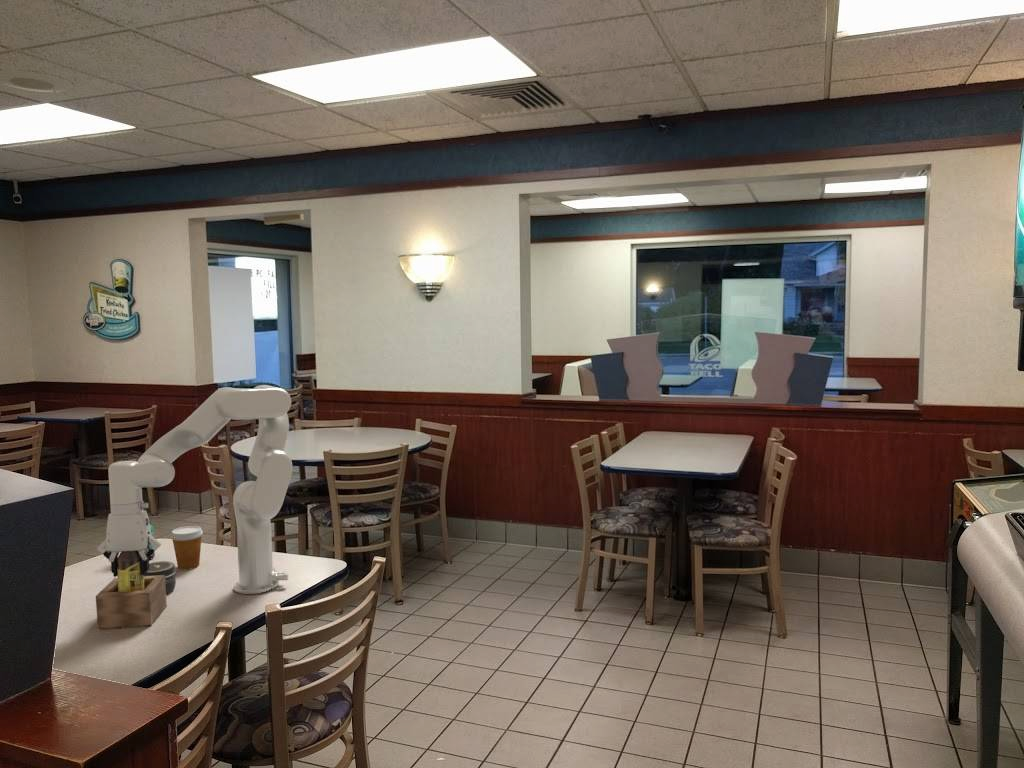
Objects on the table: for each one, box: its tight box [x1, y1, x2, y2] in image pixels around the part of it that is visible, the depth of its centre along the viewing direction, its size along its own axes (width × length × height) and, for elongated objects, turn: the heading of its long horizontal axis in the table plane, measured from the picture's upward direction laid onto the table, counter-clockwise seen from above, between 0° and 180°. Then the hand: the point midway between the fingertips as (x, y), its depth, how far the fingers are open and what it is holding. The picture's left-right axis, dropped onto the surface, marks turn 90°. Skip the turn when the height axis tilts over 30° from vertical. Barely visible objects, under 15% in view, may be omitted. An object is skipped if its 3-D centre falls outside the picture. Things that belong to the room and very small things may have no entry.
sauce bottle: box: [117, 551, 144, 592], centre depth 197 cm, size 7×6×20 cm
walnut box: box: [95, 575, 168, 630], centre depth 198 cm, size 13×13×9 cm
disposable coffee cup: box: [170, 525, 204, 570], centre depth 237 cm, size 10×10×12 cm
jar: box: [144, 560, 177, 595], centre depth 216 cm, size 10×10×8 cm
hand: (130, 573), depth 197 cm, fingers closed on sauce bottle, 6 cm apart
